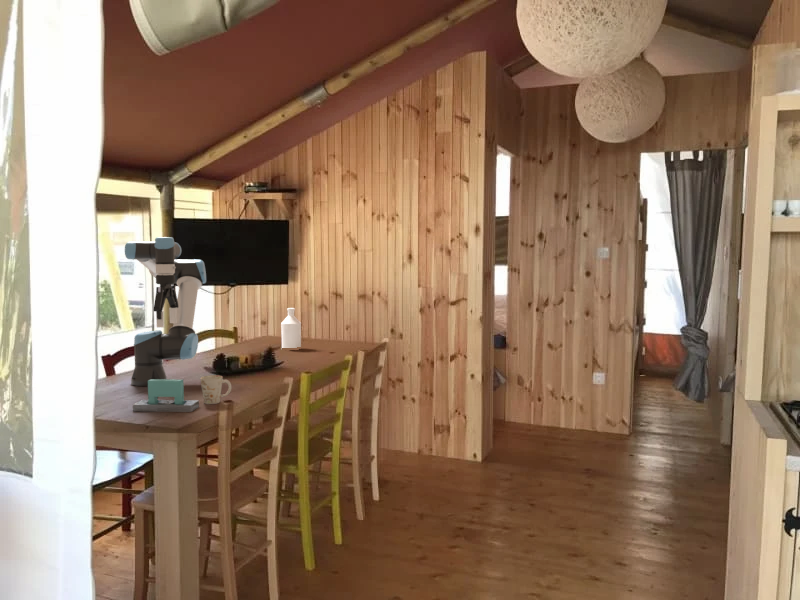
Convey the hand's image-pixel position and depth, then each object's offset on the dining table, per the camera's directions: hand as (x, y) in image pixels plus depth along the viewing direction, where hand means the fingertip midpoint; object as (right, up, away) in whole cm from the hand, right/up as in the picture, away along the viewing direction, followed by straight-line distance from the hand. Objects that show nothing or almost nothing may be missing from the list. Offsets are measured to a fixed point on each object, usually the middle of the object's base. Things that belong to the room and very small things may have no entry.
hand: (166, 325), depth 271 cm
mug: (+25, -30, -15) cm, 42 cm away
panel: (+9, -31, -27) cm, 42 cm away
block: (+10, -31, -27) cm, 42 cm away
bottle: (+32, -20, +121) cm, 126 cm away
